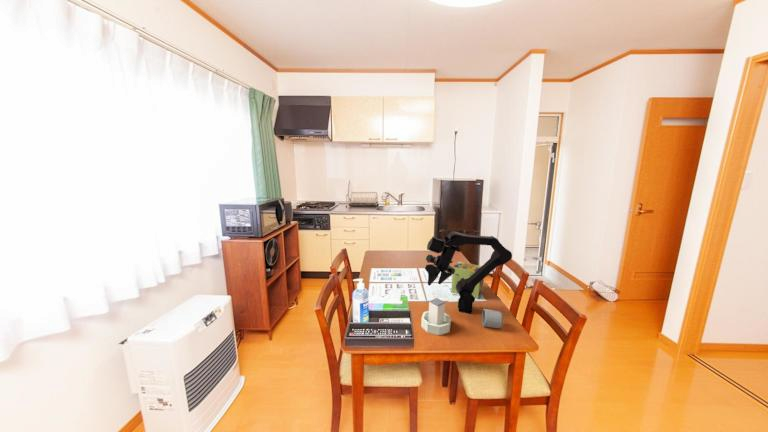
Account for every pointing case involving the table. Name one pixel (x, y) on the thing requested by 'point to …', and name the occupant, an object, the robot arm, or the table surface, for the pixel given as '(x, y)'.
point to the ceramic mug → (492, 318)
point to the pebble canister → (436, 312)
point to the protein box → (465, 272)
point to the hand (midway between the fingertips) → (433, 284)
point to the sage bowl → (435, 328)
